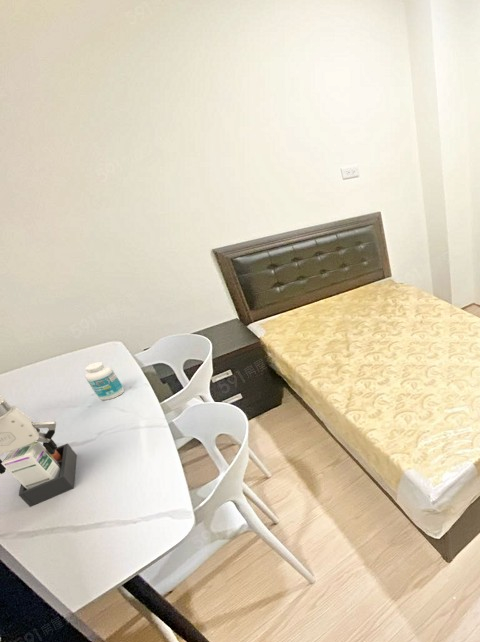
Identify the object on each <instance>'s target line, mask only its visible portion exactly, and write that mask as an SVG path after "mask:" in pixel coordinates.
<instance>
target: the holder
mask: <svg viewBox="0 0 480 642" xmlns="http://www.w3.org/2000/svg"><path fill="white" fill-rule="evenodd" d="M56 450H57V451H58V452H59V454H60V455H61V456H62V460H60V461H58V463H59V465H60V466H61V472H60V477H57V478H55V479H52V480H50V481H47V482H45V483H42V484H40V485H38V486H35V487H33V488H30V489H28V490H27V489H26V488H25V487H24V486H23V485H22V484H21V483H20V487H19V490H18V496H19V497H20V499H22V500H23V501H24V502H25V504H27V506H28V507H30V508H32V507H34V506H36V505H39V504H41V503H43V502H46V501H48V500H50V499H53V498H55V497H57V496H59V495H62V494H64V493H67V492H69V491H72V490H73V489H75V481H76V470H77V469H76V468H77V459H78V458H77V457H78V455H77V454H76V452H75V450H74V449H73V448H72V447H71V446H70V444H69V443H65V444H62V445H60V446H57V448H56Z"/></svg>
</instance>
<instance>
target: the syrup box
mask: <svg viewBox="0 0 480 642" xmlns="http://www.w3.org/2000/svg"><path fill="white" fill-rule="evenodd" d="M1 464H2V465H3V466H4V467H5V468H6V470H7V472H9V473H10V474H11V476H13V477H14V478H15V480H17V481H18V482H19V483H20V485H21V484H22V485H23V486H24V487H25V488H26V489H27V490H28V489H30V488H33V487H35V486H38V485H40V484H42V483H45V482H47V481H50V480H52V479H55V478H57V477H60V472H61V466H60V465H59V463H58V462H57V461H56V460H55V459H54V458H53V457H52V456H51V454H50V453H49V452H48V451H47V450H46V449H45V447H44V446H43V443H42V442H38V441H35V442H34V443H31V444H29V445H26V446H24V447H21V448H18V449H15V450H13V451H10V452H8V454H7V455H6V456H5V457H4V458H3V460H2V463H1Z"/></svg>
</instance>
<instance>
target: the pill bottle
mask: <svg viewBox="0 0 480 642" xmlns="http://www.w3.org/2000/svg"><path fill="white" fill-rule="evenodd" d="M84 369H85V370H86V374H85V380H86V381H87V383H88V384H89V386H90V387H91V389H92V390H93V391H94V393H95V395H96V396H97V398H98V399H99V400H101V401H108V400H111V399H112V400H113V399H115V398H117V397H119V396H121V395H122V394H123V393H124V391H125V387H124V386H123V385H122V382H121V381H120V380H119V378H118V376H117V375H116V373H115V372H114V369H113V368H112V367H111V366H108V365H107V366H106V365H104V363H103V362H101V361H97V362H93V363H90V364H88V365H87V366H86V367H85V368H84Z"/></svg>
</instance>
